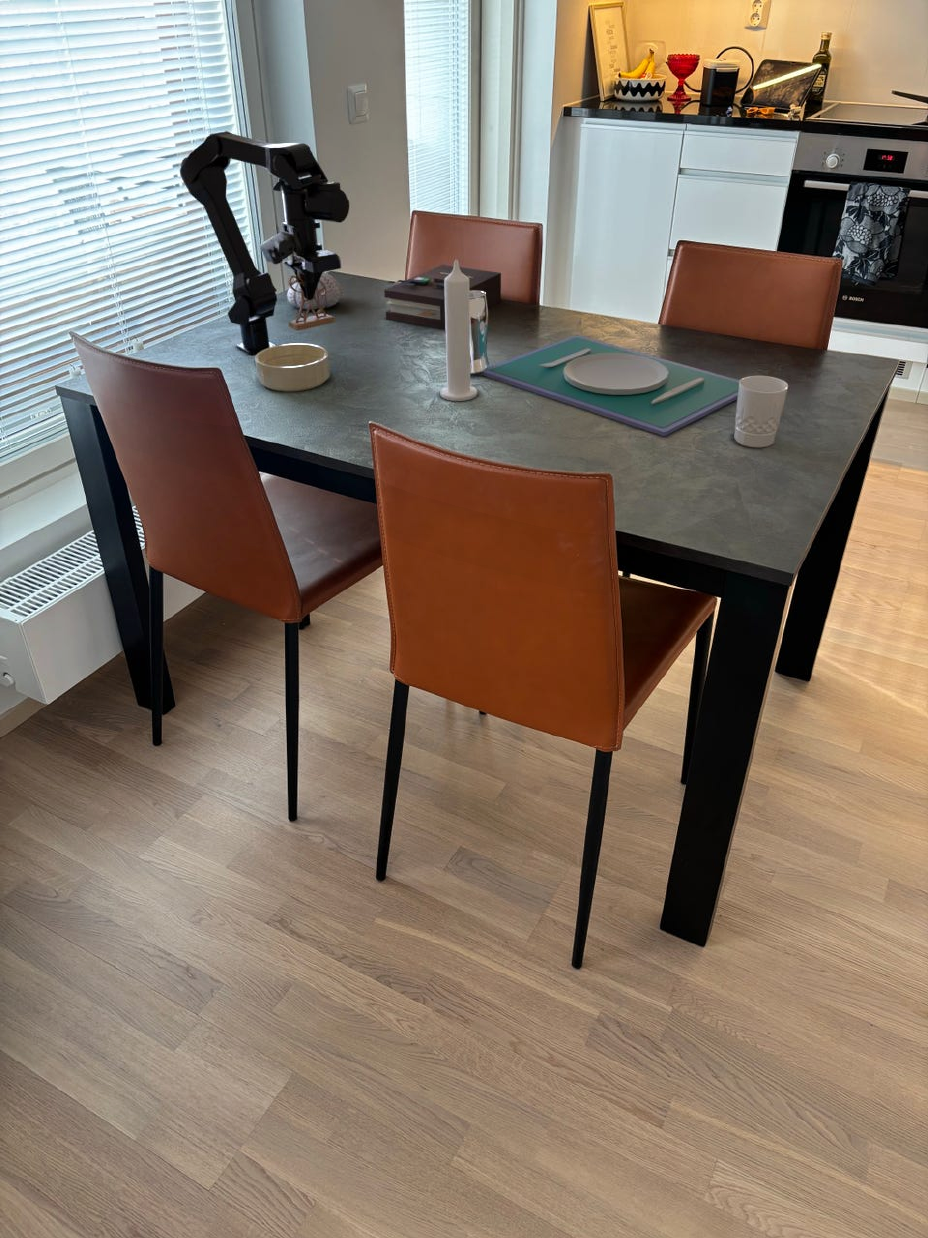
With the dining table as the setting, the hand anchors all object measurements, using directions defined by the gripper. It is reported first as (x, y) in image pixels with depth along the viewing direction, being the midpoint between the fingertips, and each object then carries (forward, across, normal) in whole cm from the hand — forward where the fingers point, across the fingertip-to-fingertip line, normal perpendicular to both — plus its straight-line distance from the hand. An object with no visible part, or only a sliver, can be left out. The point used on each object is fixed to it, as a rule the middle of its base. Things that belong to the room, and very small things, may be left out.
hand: (308, 298), depth 190 cm
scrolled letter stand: (+5, 0, 0) cm, 5 cm away
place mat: (+13, +49, +40) cm, 64 cm away
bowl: (+13, +7, -9) cm, 17 cm away
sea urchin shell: (+13, -36, +20) cm, 43 cm away
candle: (+13, +34, +12) cm, 39 cm away
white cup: (+13, +84, +38) cm, 93 cm away
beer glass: (+13, +27, +22) cm, 37 cm away
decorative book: (+13, -11, +42) cm, 46 cm away
